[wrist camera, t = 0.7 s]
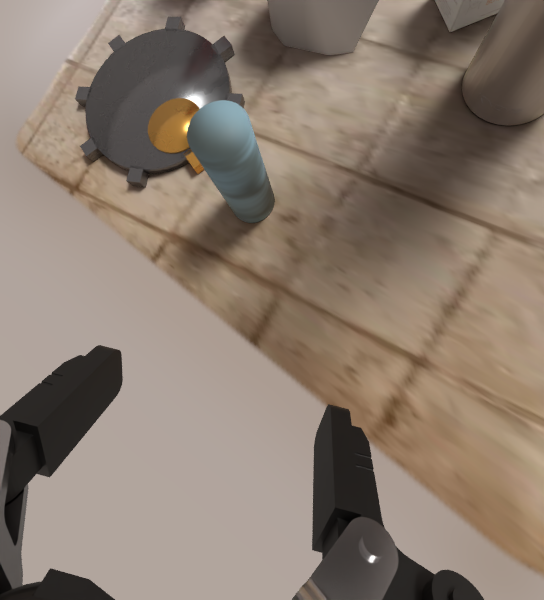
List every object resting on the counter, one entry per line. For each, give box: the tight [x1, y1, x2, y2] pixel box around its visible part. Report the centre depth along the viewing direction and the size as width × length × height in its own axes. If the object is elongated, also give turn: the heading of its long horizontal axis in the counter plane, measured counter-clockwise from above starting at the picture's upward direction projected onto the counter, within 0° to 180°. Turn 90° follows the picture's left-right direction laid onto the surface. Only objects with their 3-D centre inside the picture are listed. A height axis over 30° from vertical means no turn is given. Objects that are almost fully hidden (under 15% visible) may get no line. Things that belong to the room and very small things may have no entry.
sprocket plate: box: [75, 17, 245, 187], centre depth 38 cm, size 21×22×2 cm
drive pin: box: [187, 100, 275, 223], centre depth 29 cm, size 5×5×12 cm
